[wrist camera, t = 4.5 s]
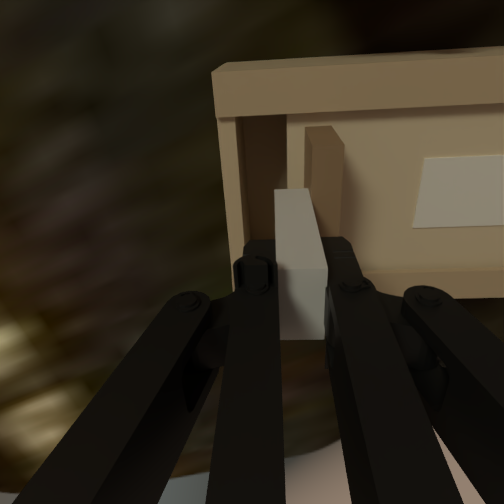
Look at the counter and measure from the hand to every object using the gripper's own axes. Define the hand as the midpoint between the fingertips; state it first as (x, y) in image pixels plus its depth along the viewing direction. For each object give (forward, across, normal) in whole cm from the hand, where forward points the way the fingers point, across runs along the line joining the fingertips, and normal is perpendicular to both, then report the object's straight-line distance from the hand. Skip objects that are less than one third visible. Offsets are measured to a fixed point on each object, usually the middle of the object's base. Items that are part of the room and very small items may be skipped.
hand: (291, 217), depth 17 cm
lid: (+3, +7, 0) cm, 7 cm away
